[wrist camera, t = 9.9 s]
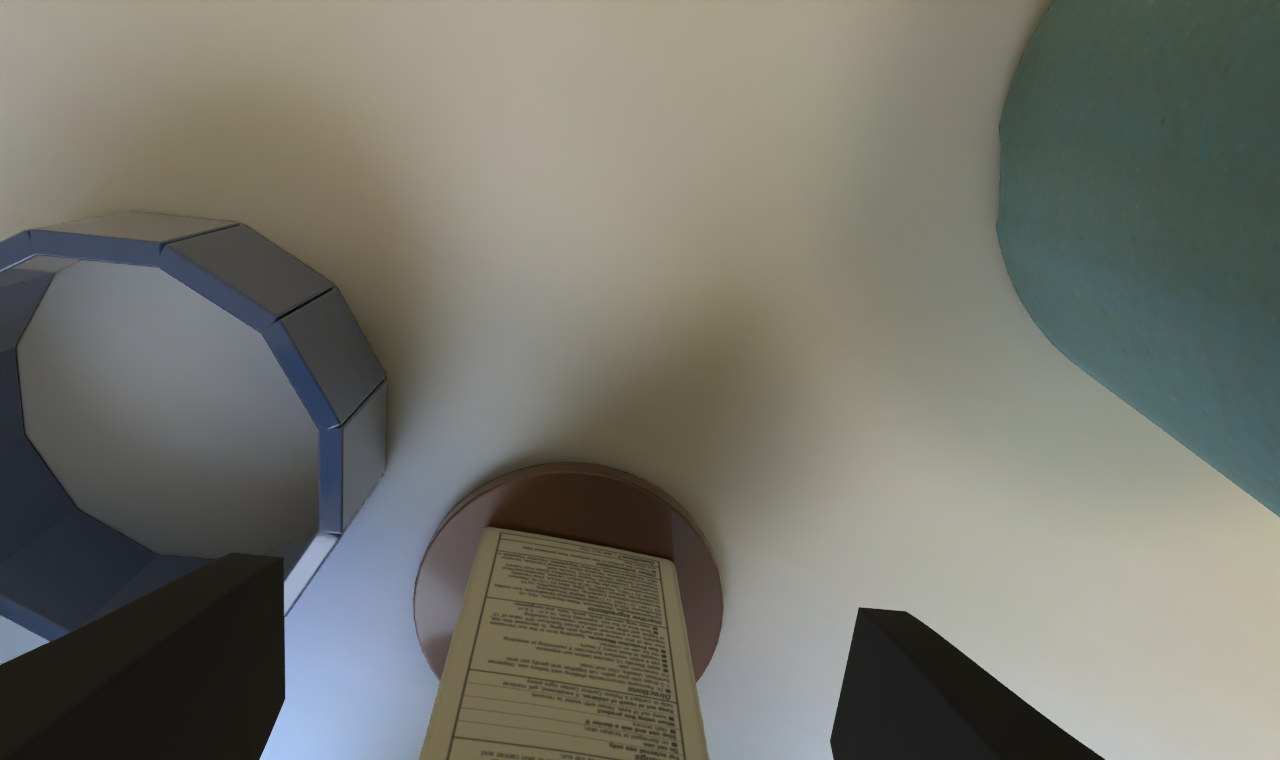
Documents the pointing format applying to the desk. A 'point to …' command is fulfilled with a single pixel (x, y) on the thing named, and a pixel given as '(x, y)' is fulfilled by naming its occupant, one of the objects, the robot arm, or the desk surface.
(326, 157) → the desk surface
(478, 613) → the drug facts carton
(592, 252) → the desk surface
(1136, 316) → the flower pot
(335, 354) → the blue ring
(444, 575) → the walnut coaster
